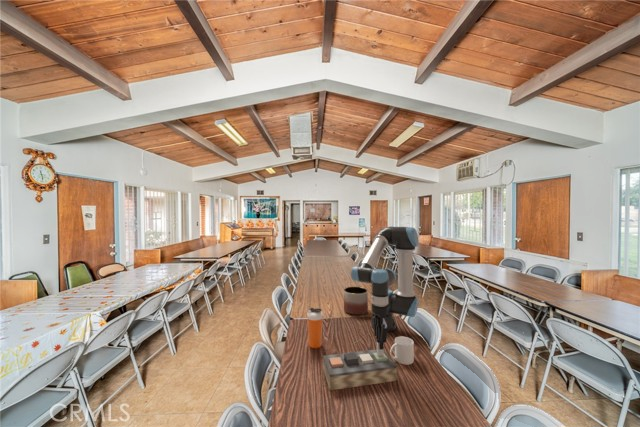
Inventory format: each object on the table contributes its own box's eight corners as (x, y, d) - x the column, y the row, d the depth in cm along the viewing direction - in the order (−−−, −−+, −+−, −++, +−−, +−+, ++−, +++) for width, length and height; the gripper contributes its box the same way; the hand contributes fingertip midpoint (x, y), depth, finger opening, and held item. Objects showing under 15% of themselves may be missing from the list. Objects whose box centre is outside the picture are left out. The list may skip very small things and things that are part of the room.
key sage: (382, 360, 118) (382, 351, 118) (387, 366, 113) (387, 357, 113) (372, 361, 117) (372, 353, 117) (377, 368, 112) (377, 359, 112)
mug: (409, 354, 129) (409, 336, 129) (416, 364, 120) (416, 345, 120) (386, 354, 129) (386, 336, 129) (392, 365, 120) (392, 346, 120)
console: (382, 361, 123) (382, 348, 123) (396, 380, 109) (396, 365, 109) (323, 369, 117) (323, 355, 117) (330, 390, 103) (329, 374, 103)
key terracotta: (340, 365, 114) (340, 356, 114) (343, 372, 109) (343, 363, 109) (329, 367, 113) (329, 358, 113) (332, 374, 108) (332, 364, 108)
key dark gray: (354, 360, 115) (354, 352, 115) (358, 367, 110) (358, 358, 110) (344, 362, 114) (344, 353, 114) (347, 368, 109) (347, 359, 109)
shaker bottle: (321, 350, 133) (321, 313, 133) (305, 348, 135) (305, 311, 135) (324, 341, 142) (324, 306, 142) (309, 340, 144) (309, 305, 144)
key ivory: (368, 362, 117) (368, 353, 117) (373, 368, 112) (373, 359, 112) (358, 363, 116) (358, 354, 116) (362, 370, 111) (362, 361, 111)
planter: (341, 307, 194) (341, 286, 194) (363, 305, 196) (363, 286, 196) (346, 316, 176) (346, 294, 176) (371, 315, 178) (370, 293, 178)
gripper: (366, 299, 121) (367, 347, 121) (378, 310, 108) (378, 364, 108) (381, 298, 122) (381, 346, 122) (394, 308, 109) (394, 362, 109)
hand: (380, 354), depth 115 cm, fingers closed
